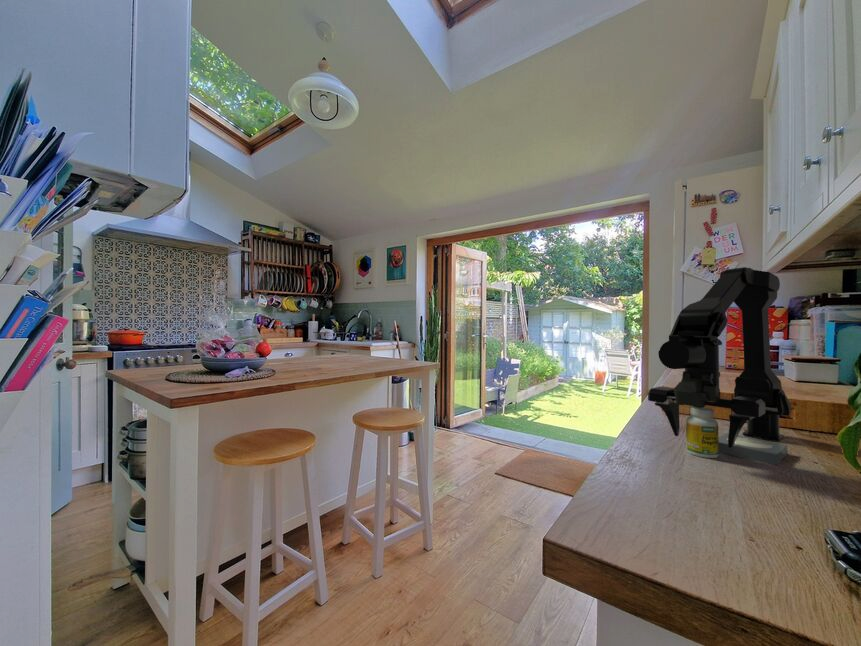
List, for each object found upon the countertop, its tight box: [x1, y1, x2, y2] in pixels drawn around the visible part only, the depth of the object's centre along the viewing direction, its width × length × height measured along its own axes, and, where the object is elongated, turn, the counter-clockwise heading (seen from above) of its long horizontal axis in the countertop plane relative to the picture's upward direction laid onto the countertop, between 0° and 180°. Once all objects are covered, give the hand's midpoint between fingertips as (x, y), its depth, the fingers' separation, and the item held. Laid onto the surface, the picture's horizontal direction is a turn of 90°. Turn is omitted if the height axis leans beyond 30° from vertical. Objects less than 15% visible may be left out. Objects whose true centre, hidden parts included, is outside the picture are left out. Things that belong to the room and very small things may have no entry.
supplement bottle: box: [685, 406, 720, 459], centre depth 73 cm, size 5×5×10 cm
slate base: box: [718, 432, 788, 466], centre depth 74 cm, size 10×10×2 cm
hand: (702, 441), depth 73 cm, fingers open, 9 cm apart
